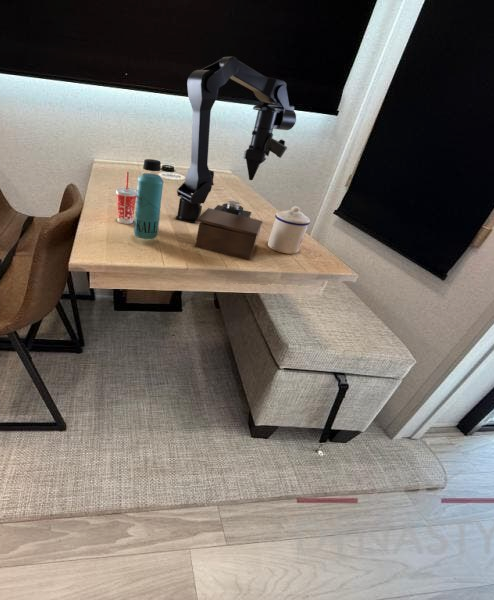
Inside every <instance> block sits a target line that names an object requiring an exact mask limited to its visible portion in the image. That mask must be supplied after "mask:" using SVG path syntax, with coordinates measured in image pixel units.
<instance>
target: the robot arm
mask: <svg viewBox="0 0 494 600" xmlns="http://www.w3.org/2000/svg"><path fill="white" fill-rule="evenodd" d="M229 79H230V80H232V81H234V82H236V83H237V84H240V85H241V86H243V87H245V88H247V89H249V90H251V91H252V92H253V94H254V96H255V97H256V98H257V99H258V100H259V102H258V103H257V104H255V105H254V106H253V107H252V110H254V111H257V114H256V119H255V124H254V127H253V130H252V131H251V135H252V136H251V140H250V144H249V145H248V148H247V149H245V151H243V156H242V158H243V159H244V160H245V161H246V167H247V176H248V180H249V181H253V180H254V178H255V176H256V174H257V172H258V170H259V167H260V165H261V164H263V163H264V162H265V161H266V160H267V157H269V156H270V153H272V154H274V155H276V157H277V158H279V159H281V158H282V157H283V155H284V154H285V152H286V151H287V149H288V147H287V146H286V145H285V144H286V141H285V140H284V139H282V138H281V139H279V140H277V139H274V137H273V136H274V134H273V131H274V130H281V131H289V130H291V129H293V127H294V126H295V125H296V122H297V114H296V112H295V106H294V105H290V102H289V94H288V90H287V82H285V80H282V79H279V78H273V77H268V76H265V75H263V74H262V73H260V72H258V71H256V70H255V69H253V68H252V67H249V66H248V65H247V64H246V63H244V62H242V61H240V60H239V59H238V58H237V57H236V56H223V57H221V58H220V59H219V60H217V61H216V62H213V63H212V64H209V65H207V66H205V67H203V68H202V69H196V70H194V71H192V72H191V73H190V75H189V76H188V78H187V82H186V85H187V87H186V88H187V96H188V100H189V103H190V105H191V110H192V121H191V122H192V125H191V127H192V128H191V154H190V155H191V156H190V165H189V168H188V169H187V170H186V171H187V172H186V173H185V181H184V182H183V183H182V184H180V186H179V187H178V188H177V189H176V194H177V197H179V202H178V208H177V209H178V210H177V215H176V216H175V220H178V221H183V222H188V223H192V224H195V223H197V222H198V221H197V218H198V217H199V216H200V215H201V214H202V209H203V206H202V204H205V202H206V200H207V198H208V195H209V193H211V192H212V188H213V186H215V184H214V177H215V171H214V170H211V169H209V166H208V162H209V146H210V145H209V144H210V142H209V141H210V130H211V129H210V128H211V127H210V126H211V114H212V113H211V112H212V109H213V106H214V105H215V102H216V100H217V99H218V93H219V89H220V88H221V87H223V86H224V85H225V84H227V82H228V81H229Z"/></svg>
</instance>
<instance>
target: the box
mask: <svg viewBox="0 0 494 600" xmlns="http://www.w3.org/2000/svg"><path fill="white" fill-rule="evenodd" d="M198 223H199V224H198V229H197V234H196V235H197V236H196V239H195V240H196V241H195V247H196V248H201V249H205V250H209V251H212V252H217V253H220V254H224V255H228V256H232V257H237V258H241V259H245V260H249V261H250V260H251V258H252V256H253V253H254V250H255V248H256V246H257V242H258V239H259V235H260V232H261V227H262V225H263V223H262V224H261V227H260V229H259V231H258V234H257V236H253V235H249V234H245V233H241V232H237V231H233V230H229V229H226V228H222V227H218V226H214V225H210V224H206V223H202V222H198Z"/></svg>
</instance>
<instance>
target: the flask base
mask: <svg viewBox="0 0 494 600" xmlns="http://www.w3.org/2000/svg"><path fill="white" fill-rule="evenodd" d="M227 204H228V202H226V203H223V204H222V205H221V204H217V205H216V206H215V207H214V208H213V209H215V210H219V211H223V212H227V213H231V214H235V215H239V216H244V217H248V218H251V216H252V211H249V210H244V207H243V206H242V205H239V209H233V208H229V207H227Z"/></svg>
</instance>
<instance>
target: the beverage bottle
mask: <svg viewBox="0 0 494 600" xmlns="http://www.w3.org/2000/svg"><path fill="white" fill-rule="evenodd" d="M142 169H143V170H145V171H148V172H145V173H142V174H141V175H140V176H139V177H138V178H137V188H136V190H137V192H136V193H137V195H136V201H135V212H134V217H133V222H134V223H133V235H134V236H135V237H136V238H139V239H143V240H152V239H155V238H157V236H158V235H159V228H160V219H161V204H162V197H163V185H164V179H163V178H162V177H161V176H160V175H158V174H156V173H149V172H161V169H162V167H161V161H160V160H157V159H152V158H146V159H144V161H143V165H142Z"/></svg>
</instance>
